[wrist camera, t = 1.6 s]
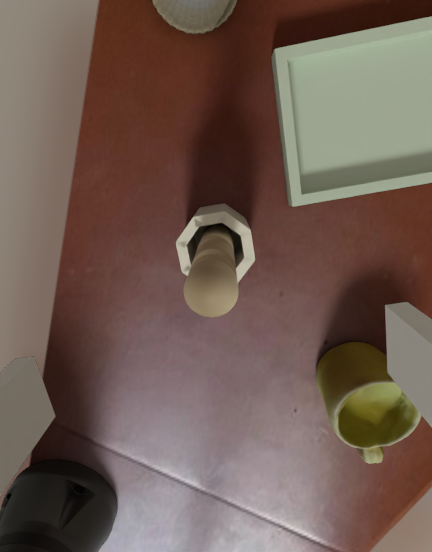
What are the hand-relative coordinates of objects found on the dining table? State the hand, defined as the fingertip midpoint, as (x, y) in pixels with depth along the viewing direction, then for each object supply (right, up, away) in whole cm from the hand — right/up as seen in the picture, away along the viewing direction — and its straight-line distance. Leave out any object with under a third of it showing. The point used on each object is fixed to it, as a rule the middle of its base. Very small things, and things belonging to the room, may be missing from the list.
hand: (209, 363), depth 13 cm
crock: (0, +8, +25) cm, 27 cm away
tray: (+17, +19, +22) cm, 33 cm away
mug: (+17, -10, +31) cm, 36 cm away
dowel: (0, +7, +25) cm, 26 cm away
